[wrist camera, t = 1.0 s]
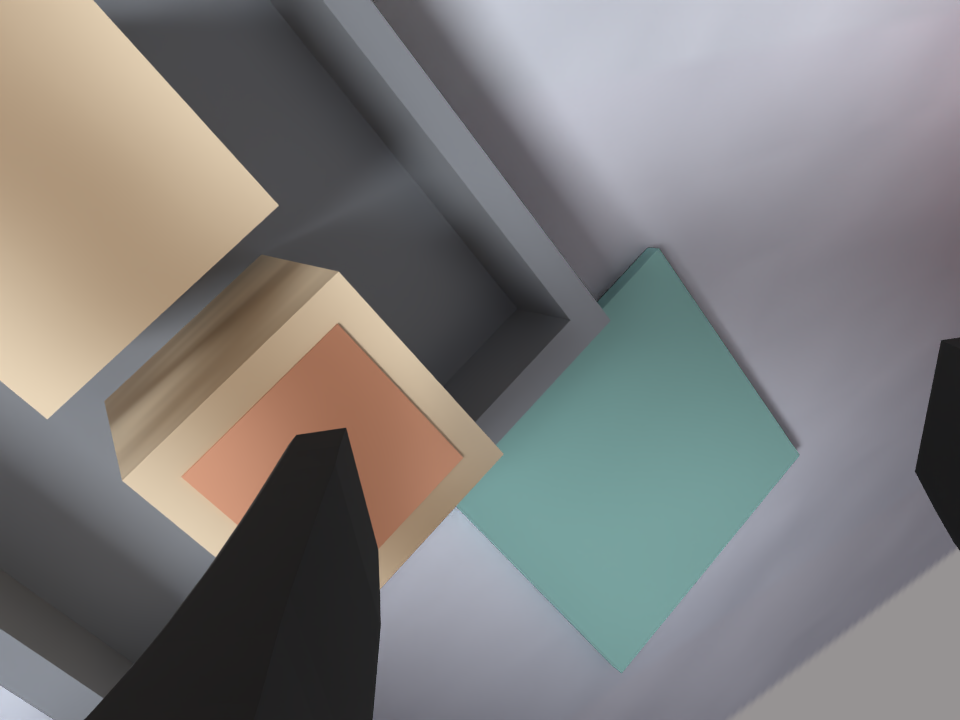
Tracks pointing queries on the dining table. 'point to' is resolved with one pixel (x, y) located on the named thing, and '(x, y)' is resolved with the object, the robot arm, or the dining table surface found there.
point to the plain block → (99, 197)
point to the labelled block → (293, 410)
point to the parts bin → (295, 237)
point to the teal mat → (632, 466)
